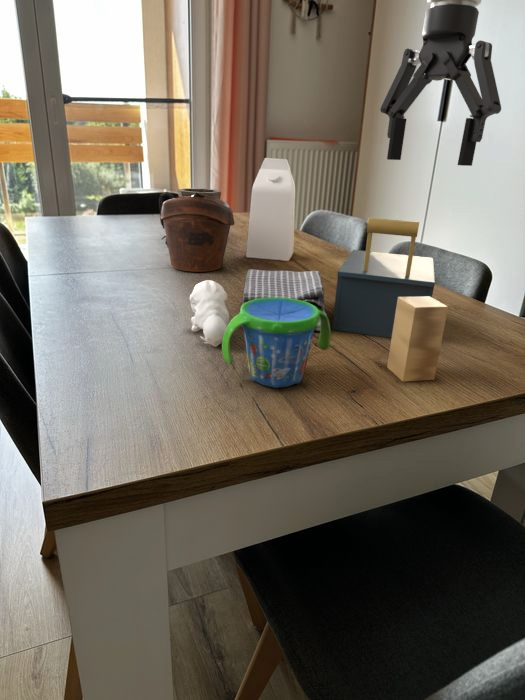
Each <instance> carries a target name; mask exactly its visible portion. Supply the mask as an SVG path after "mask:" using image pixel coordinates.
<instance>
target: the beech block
mask: <svg viewBox="0 0 525 700" xmlns="http://www.w3.org/2000/svg"><path fill="white" fill-rule="evenodd" d="M448 310H449V306H448V305H446V304H444V303H442V302H441V301H438V299H435V298H433V297H432V298H431V297H430V296H418V297H398V300H397V306H396V313H395V319H394V326H393V332H392V338H390V346H389V353H388V359H387V366H386V368H387V369H388V370H389V371H391V372H392V374H393V375H394V376H396V377H397V378H398V379H399V380H400V381H401V382H403V383H404V382H419V381H421V382H422V381H434V380H435V379H436V374H437V373H436V372H437V367H438V361H439V357H440V352H441V347H442V341H443V336H444V332H445V326H446V320H447V316H448V312H449V311H448Z"/></svg>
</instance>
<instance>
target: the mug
mask: <svg viewBox="0 0 525 700" xmlns="http://www.w3.org/2000/svg"><path fill="white" fill-rule="evenodd" d="M177 193H178V194H177V195H178V197H184V196H192V195H194V194H196V193H199V194H201V195H207V196H211V197H215V198H218V199H220V200H221V195H222V191H221V190H218V189H211V188H194V187H193V188H192V187H190V188H178V189H177ZM166 196H167V197H169V198H170V199H173V198H176V197H175V196H174V195H173V194H172V193H170V192H168V191H165V192H163V193H161V194H159V198H158V208H159V217H160V216H161V209H162V205H163V199H164V197H166ZM163 220H164V219H162V220H160V224H161V227H162V229H164V230H165V228H164V224H163Z"/></svg>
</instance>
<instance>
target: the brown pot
mask: <svg viewBox="0 0 525 700" xmlns="http://www.w3.org/2000/svg"><path fill="white" fill-rule="evenodd" d="M159 219H160V220H162V219H164V220H163V224H164V228H165V229H164V228H163V229H164V233H165V235H164V236H163V237H162V238H161V239H160V240H161V241H162V240H164V239H165V241H164V242H165V245H166V246H167V250H168V254H169V259H170V264H171V266H172V268H174V269H175V270H179V271H183V272H195V273H199V272H200V273H203V272H204V273H205V272H213V271H217V270H219V269H221V268H223V266H224V258H225V253H226V250H227V249H226V248H227V244H228V240H229V235H230V229H231V227H232V226H235V219H234V212H233V210H232V209H231V206H230V205H229V204H228V203H227V202H226V201H224V200H222V199H221V198H220V199H218V198H215V197H211V196H207V195H201V194H199V193H196V194H194V195H192V196H184V197H179V196H178V197H175V198H173V199H171V198H170V199H167V200H165V201H162V209H161V216H160V215H159Z"/></svg>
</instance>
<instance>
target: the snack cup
mask: <svg viewBox="0 0 525 700" xmlns="http://www.w3.org/2000/svg"><path fill="white" fill-rule="evenodd" d="M319 316H320V317H321V326H320V331H319V336H318V341H317V344H318V347H319V349H321V350H323V351H326V350H328V349H329V347H330V345H331V339H332V338H331V337H332V335H331V333H332V332H331V324H330V323H331V322H330V320H329V317H328V315H327V316H326V315H325V314H324V313H323V312H321V311H320V310H318V308H317V307H315V306H314V305H312V304H310V303H308V302H304V301H301V300H296V299H290V298H276V297H275V298H274V297H273V298H260V299H255V300H251V301H248V302H246V303H244V304H243V305H242V304H241V306H240V310H239V313H238V314H236V315H235V316H234V317H233V318H231V320H229V323H228V324H227V328H226V331H225V333H224V336H223V341H222V343H221V352H222V356H223V358H224V360H225V362H226V363H227V364H228V365H232V364H233V360H232V352H231V351H232V350H231V339H232V336H233V334H234V333H235V332H236V331H237V330H238V329H239V327H240V326H242V329H243V333H244V342H245V349H246V358H247V367H248V372H249V376H250V378H251V380H252V381H253V382H256V383H258V384H260V385H263V386H265V387H271V388H275V389H278V388H287V387H290V386H293V385H297V384H300V383H301V381H302V379H303V378H304V376H305V372H306V369H307V364H308V360H309V355H310V352H311V347H312V343H313V339H314V332H315V330H314V329H315V327H316V326H317V324H318V322H319Z"/></svg>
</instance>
